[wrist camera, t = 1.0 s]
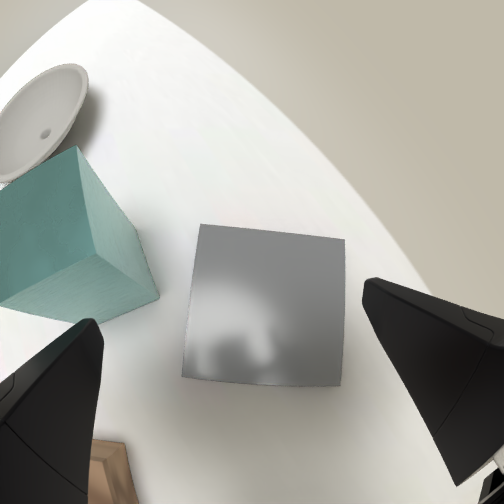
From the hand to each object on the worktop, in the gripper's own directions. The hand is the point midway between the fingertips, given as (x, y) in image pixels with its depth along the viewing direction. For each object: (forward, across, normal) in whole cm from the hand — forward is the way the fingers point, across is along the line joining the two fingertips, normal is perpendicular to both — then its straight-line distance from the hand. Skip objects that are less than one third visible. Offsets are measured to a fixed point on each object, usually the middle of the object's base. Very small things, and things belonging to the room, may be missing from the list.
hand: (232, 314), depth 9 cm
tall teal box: (+14, +9, +5) cm, 18 cm away
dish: (+26, +19, -8) cm, 33 cm away
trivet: (+11, -3, +8) cm, 14 cm away
